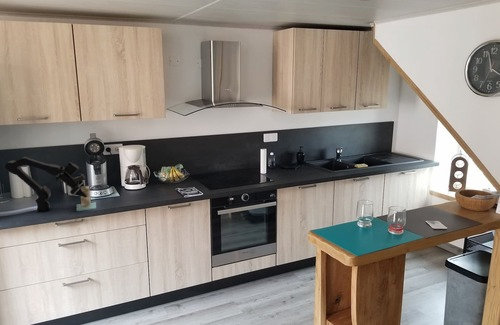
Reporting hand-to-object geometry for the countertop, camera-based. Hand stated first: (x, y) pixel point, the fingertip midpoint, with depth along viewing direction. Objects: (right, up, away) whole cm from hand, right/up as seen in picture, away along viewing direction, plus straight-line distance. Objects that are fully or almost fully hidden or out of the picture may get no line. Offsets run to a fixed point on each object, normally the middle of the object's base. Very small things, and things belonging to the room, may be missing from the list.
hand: (87, 194), depth 257 cm
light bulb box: (-20, -2, +30) cm, 36 cm away
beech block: (-1, -8, +1) cm, 8 cm away
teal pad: (-1, -8, +1) cm, 9 cm away
